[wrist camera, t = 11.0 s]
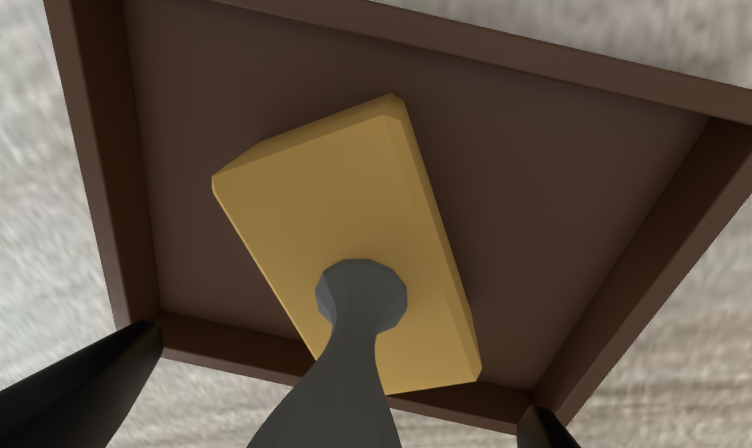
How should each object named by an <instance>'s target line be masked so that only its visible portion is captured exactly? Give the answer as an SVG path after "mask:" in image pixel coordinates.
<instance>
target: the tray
mask: <svg viewBox="0 0 752 448" xmlns="http://www.w3.org/2000/svg"><path fill="white" fill-rule="evenodd" d="M43 2H44V7H45V11H46V16H47V20H48V25H49V29H50V34H51V38H52V43H53V47H54V52H55V56H56V61H57V65H58V70H59V74H60V79H61V83H62V88H63V92H64V97H65V101H66V106H67V110H68V115H69V119H70V124H71V128H72V133H73V137H74V142H75V146H76V151H77V155H78V160H79V164H80V169H81V173H82V178H83V182H84V187H85V191H86V196H87V200H88V205H89V209H90V214H91V218H92V223H93V227H94V232H95V236H96V241H97V245H98V250H99V254H100V259H101V263H102V268H103V272H104V277H105V281H106V286H107V291H108V295H109V300H110V304H111V309H112V313H113V318H114V322H115V327H116V331H118V330H120V329H122V328H124V327H126V326H128V325H130V324H132V323H134V322H136V321H138V320H141V319H148V320H152V321H157V322H159V323H160V324H161V327H162V334H163V342H164V349H163V352H162V355H161V358H166V359H170V360H175V361H180V362H184V363H189V364H193V365H198V366H202V367H207V368H211V369H216V370H220V371H225V372H229V373H234V374H239V375H243V376H248V377H252V378H257V379H261V380H266V381H270V382H275V383H279V384H284V385H289V386H293V387H294V386H295V385H296V384H297V383H298V382H299V381H300V380H301V379H302V377H303V376H304V375H305V374H306V373H307V372H308V370H309V369H310V368H311V367H312V366H313V364H314V363H315V362H316V360H315V358H314V357H313V355H312V353H311V352H310V350H309V348H308V347H307V345H306V344H305V342H304V340H303V339H302V337H301V335H300V334H299V332H298V331H297V329H296V327H295V326H294V324H293V322H292V321H291V319H290V317H289V316H288V314H287V313H286V311H285V309H284V308H283V306H282V304H281V303H280V301H279V300H278V298H277V296H276V295H275V293H274V291H273V290H272V288H271V287H270V285H269V283H268V282H267V280H266V278H265V277H264V275H263V274H262V272H261V270H260V269H259V267H258V265H257V264H256V262H255V261H254V259H253V257H252V256H251V254H250V252H249V251H248V249H247V248H246V246H245V244H244V243H243V241H242V239H241V238H240V236H239V235H238V233H237V231H236V230H235V228H234V226H233V225H232V223H231V222H230V220H229V218H228V217H227V215H226V213H225V212H224V210H223V209H222V207H221V205H220V204H219V202H218V200H217V199H216V197H215V196H214V194H213V190H212V176H213V175H214V174H215V173H217V172H218V171H219V170H221V169H222V168H223V167H225V166H226V165H228V164H229V163H230V162H232V161H233V160H235V159H236V158H238V157H239V156H240V155H242V154H243V153H245V152H246V151H247V150H249V149H250V148H252V147H253V146H254V145H256V144H257V143H259V142H261V141H263V140H266V139H269V138H271V137H274V136H277V135H279V134H282V133H285V132H287V131H290V130H293V129H295V128H298V127H301V126H303V125H306V124H309V123H311V122H314V121H317V120H319V119H322V118H324V117H327V116H330V115H332V114H335V113H338V112H340V111H343V110H346V109H348V108H351V107H354V106H356V105H359V104H362V103H364V102H367V101H370V100H372V99H375V98H378V97H380V96H383V95H386V94H388V93H393V94H395V95H396V96H398V97H399V98H401V99H402V100H404V103H405V106H406V109H407V112H408V115H409V118H410V121H411V125H412V128H413V131H414V134H415V137H416V140H417V143H418V147H419V150H420V153H421V156H422V159H423V162H424V165H425V169H426V172H427V175H428V178H429V181H430V184H431V187H432V191H433V194H434V197H435V200H436V203H437V206H438V209H439V213H440V216H441V219H442V222H443V225H444V228H445V231H446V234H447V238H448V241H449V244H450V247H451V250H452V253H453V256H454V260H455V263H456V266H457V269H458V272H459V275H460V278H461V282H462V285H463V288H464V291H465V294H466V297H467V300H468V304H469V307H470V310H471V314H472V319H473V324H474V329H475V334H476V339H477V344H478V349H479V354H480V359H481V364H482V370H481V372H480V374H479V376H478V378H477V380H476V381H475V382H468V383H462V384H455V385H448V386H442V387H435V388H429V389H422V390H416V391H409V392H403V393H396V394H390V395H385V397H386V400H387V402H388V405H389V408H393V409H397V410H402V411H407V412H411V413H416V414H420V415H425V416H429V417H434V418H438V419H443V420H447V421H452V422H456V423H461V424H466V425H470V426H475V427H479V428H484V429H488V430H493V431H497V432H502V433H506V434H511V435H515V436H517V435H516V431H517V425H518V423H519V421H520V420H521V418H522V417H523V415H524V414H525V412H526V411H527V409H528V408H529V407H530V406H531V405H537V406H542V407H546V408H549V409H550V410H551V411H552V412H553V413H554V414H555V415H556V417H557V418H558V419H559V420H560V422H561V423H562V424H563V425H564V427H566V426H567V425H568V424H569V422H570V421H571V420H572V419H573V417H574V416H575V415H576V414H577V412H578V411H579V410H580V409H581V407H582V406H583V405H584V404H585V402H586V401H587V400H588V398H589V397H590V396H591V395H592V393H593V392H594V391H595V390H596V388H597V387H598V386H599V385H600V383H601V382H602V381H603V380H604V378H605V377H606V376H607V375H608V373H609V372H610V371H611V370H612V368H613V367H614V366H615V364H616V363H617V362H618V361H619V359H620V358H621V357H622V356H623V354H624V353H625V352H626V351H627V349H628V348H629V347H630V346H631V344H632V343H633V342H634V341H635V339H636V338H637V337H638V336H639V334H640V333H641V332H642V330H643V329H644V328H645V327H646V325H647V324H648V323H649V322H650V320H651V319H652V318H653V317H654V315H655V314H656V313H657V312H658V310H659V309H660V308H661V307H662V305H663V304H664V303H665V302H666V300H667V299H668V298H669V297H670V295H671V294H672V293H673V291H674V290H675V289H676V288H677V286H678V285H679V284H680V283H681V281H682V280H683V279H684V278H685V276H686V275H687V274H688V273H689V271H690V270H691V269H692V268H693V266H694V265H695V264H696V263H697V261H698V260H699V259H700V257H701V256H702V255H703V254H704V252H705V251H706V250H707V249H708V247H709V246H710V245H711V244H712V242H713V241H714V240H715V239H716V237H717V236H718V235H719V234H720V232H721V231H722V230H723V229H724V227H725V226H726V225H727V224H728V222H729V221H730V220H731V218H732V217H733V216H734V215H735V213H736V212H737V211H738V210H739V208H740V207H741V206H742V205H743V203H744V202H745V201H746V200H747V198H748V197H749V196H750V195H751V193H752V90H751V89H747V88H743V87H738V86H734V85H730V84H725V83H721V82H717V81H713V80H708V79H704V78H700V77H695V76H691V75H687V74H682V73H678V72H674V71H670V70H665V69H661V68H657V67H652V66H648V65H644V64H639V63H635V62H631V61H627V60H622V59H618V58H614V57H609V56H605V55H601V54H596V53H592V52H588V51H583V50H579V49H575V48H571V47H566V46H562V45H558V44H553V43H549V42H545V41H540V40H536V39H532V38H528V37H523V36H519V35H515V34H510V33H506V32H502V31H497V30H493V29H489V28H485V27H480V26H476V25H472V24H467V23H463V22H459V21H454V20H450V19H446V18H442V17H437V16H433V15H429V14H424V13H420V12H416V11H411V10H407V9H403V8H399V7H394V6H390V5H386V4H381V3H377V2H373V1H368V0H43Z"/></svg>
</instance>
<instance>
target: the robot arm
mask: <svg viewBox="0 0 752 448" xmlns="http://www.w3.org/2000/svg"><path fill="white" fill-rule="evenodd" d="M163 349H164V342H163V334H162V327H161V324H160V323H159V322H157V321H152V320H148V319H141V320H138V321H136V322H134V323H132V324H130V325H128V326H126V327H124V328H122V329H120V330H118V331H116V332H114V333H112V334H110V335H108V336H106V337H105V338H103V339H101V340H99V341H97V342H95V343H93V344H91V345H89V346H87V347H85V348H83V349H81V350H79V351H77V352H75V353H73V354H72V355H70V356H68V357H66V358H64V359H62V360H60V361H58V362H56V363H54V364H52V365H50V366H48V367H46V368H44V369H42V370H40V371H38V372H37V373H35V374H33V375H31V376H29V377H27V378H25V379H23V380H21V381H19V382H17V383H15V384H13V385H11V386H9V387H7V388H5V389H4V390H2V391H0V448H105V447H106V446H107V444H108V443H109V441H110V440H111V439H112V437H113V436H114V434H115V433H116V431H117V430H118V428H119V427H120V425H121V424H122V422H123V421H124V419H125V418H126V416H127V415H128V413H129V411H130V410H131V408H132V406H133V404H134V403H135V401H136V399H137V397H138V396H139V394H140V392H141V390H142V389H143V387H144V385H145V383H146V381H147V380H148V378H149V376H150V374H151V373H152V371H153V369H154V367H155V366H156V364H157V362H158V360H159V359H160V357H161V355H162V352H163ZM516 435H517V446H518V448H581V447H580V446H579V444H578V443H577V442H576V441H575V439H574V438H573V437H572V436H571V434H570V433H569V432H568V431H567V429H566V428H565V427H564V425H563V424H562V423H561V422H560V420H559V419H558V418H557V417H556V415H555V414H554V413H553V412H552V411H551V410H550V409H549V408H546V407H542V406H537V405H531V406H530V407H529V408H528V409H527V411H526V412H525V414H524V415H523V417H522V418H521V420H520V421H519V423H518V425H517V431H516Z"/></svg>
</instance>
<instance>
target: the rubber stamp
mask: <svg viewBox="0 0 752 448" xmlns="http://www.w3.org/2000/svg"><path fill="white" fill-rule="evenodd" d="M212 190H213V194H214V196H215V197H216V199H217V200H218V202H219V204H220V205H221V207H222V209H223V210H224V212H225V213H226V215H227V217H228V218H229V220H230V222H231V223H232V225H233V226H234V228H235V230H236V231H237V233H238V235H239V236H240V238H241V239H242V241H243V243H244V244H245V246H246V248H247V249H248V251H249V252H250V254H251V256H252V257H253V259H254V261H255V262H256V264H257V265H258V267H259V269H260V270H261V272H262V274H263V275H264V277H265V278H266V280H267V282H268V283H269V285H270V287H271V288H272V290H273V291H274V293H275V295H276V296H277V298H278V300H279V301H280V303H281V304H282V306H283V308H284V309H285V311H286V313H287V314H288V316H289V317H290V319H291V321H292V322H293V324H294V326H295V327H296V329H297V331H298V332H299V334H300V335H301V337H302V339H303V340H304V342H305V344H306V345H307V347H308V348H309V350H310V352H311V353H312V355H313V357H314V358H315V360H316V362H315V363H314V364H313V366H312V367H311V368H310V369H309V370H308V372H307V373H306V374H305V375H304V376H303V377H302V379H301V380H300V381H299V382H298V383H297V384H296V385H295V386H294V388H293V389H292V390H291V391H290V392H289V393H288V394H287V395H286V397H285V398H284V399H283V400H282V401H281V402H280V404H279V405H278V406H277V407H276V408H275V409H274V410H273V412H272V413H271V414H270V416H269V417H268V418H267V419H266V421H265V422H264V423H263V424H262V426H261V427H260V428H259V430H258V431H257V432H256V434H255V435H254V437H253V438H252V440H251V441H250V443H249V444H248V446H247V447H246V448H402V447H401V443H400V439H399V436H398V433H397V429H396V426H395V423H394V420H393V417H392V414H391V411H390V408H389V405H388V402H387V400H386V397H385V395H390V394H396V393H403V392H409V391H416V390H422V389H429V388H435V387H442V386H448V385H455V384H462V383H468V382H475V381H476V380H477V378H478V376H479V374H480V372H481V370H482V364H481V359H480V354H479V349H478V344H477V339H476V334H475V329H474V324H473V319H472V314H471V310H470V307H469V304H468V300H467V297H466V294H465V291H464V288H463V285H462V282H461V278H460V275H459V272H458V269H457V266H456V263H455V260H454V256H453V253H452V250H451V247H450V244H449V241H448V238H447V234H446V231H445V228H444V225H443V222H442V219H441V216H440V213H439V209H438V206H437V203H436V200H435V197H434V194H433V191H432V187H431V184H430V181H429V178H428V175H427V172H426V169H425V165H424V162H423V159H422V156H421V153H420V150H419V147H418V143H417V140H416V137H415V134H414V131H413V128H412V125H411V121H410V118H409V115H408V112H407V109H406V106H405V103H404V100H402V99H401V98H399V97H398V96H396V95H395V94H393V93H388V94H386V95H383V96H380V97H378V98H375V99H372V100H370V101H367V102H364V103H362V104H359V105H356V106H354V107H351V108H348V109H346V110H343V111H340V112H338V113H335V114H332V115H330V116H327V117H324V118H322V119H319V120H317V121H314V122H311V123H309V124H306V125H303V126H301V127H298V128H295V129H293V130H290V131H287V132H285V133H282V134H279V135H277V136H274V137H271V138H269V139H266V140H263V141H261V142H259V143H257V144H256V145H254V146H253V147H252V148H250V149H249V150H247V151H246V152H245V153H243V154H242V155H240V156H239V157H238V158H236V159H235V160H233V161H232V162H230V163H229V164H228V165H226V166H225V167H223V168H222V169H221V170H219V171H218V172H217V173H215V174H214V175H213V176H212Z"/></svg>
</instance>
